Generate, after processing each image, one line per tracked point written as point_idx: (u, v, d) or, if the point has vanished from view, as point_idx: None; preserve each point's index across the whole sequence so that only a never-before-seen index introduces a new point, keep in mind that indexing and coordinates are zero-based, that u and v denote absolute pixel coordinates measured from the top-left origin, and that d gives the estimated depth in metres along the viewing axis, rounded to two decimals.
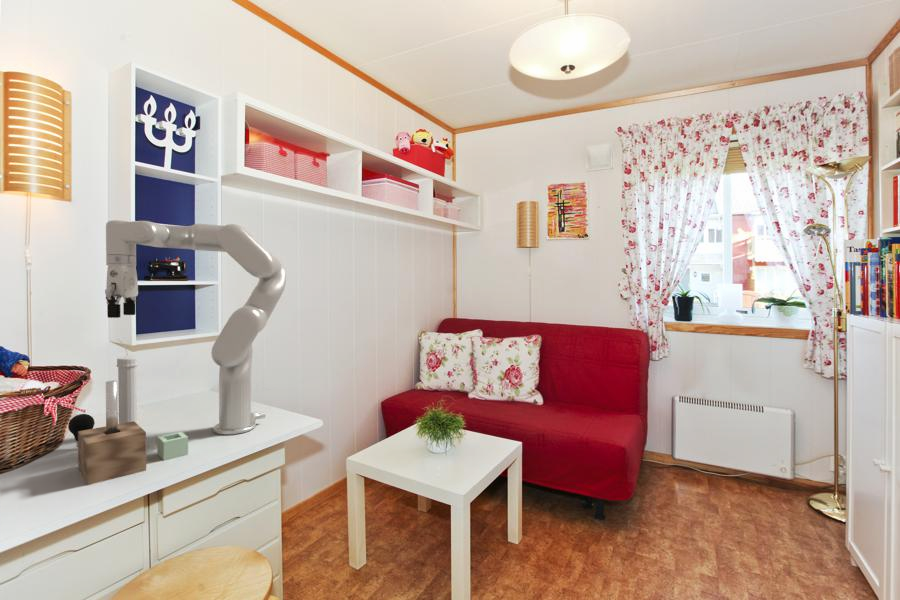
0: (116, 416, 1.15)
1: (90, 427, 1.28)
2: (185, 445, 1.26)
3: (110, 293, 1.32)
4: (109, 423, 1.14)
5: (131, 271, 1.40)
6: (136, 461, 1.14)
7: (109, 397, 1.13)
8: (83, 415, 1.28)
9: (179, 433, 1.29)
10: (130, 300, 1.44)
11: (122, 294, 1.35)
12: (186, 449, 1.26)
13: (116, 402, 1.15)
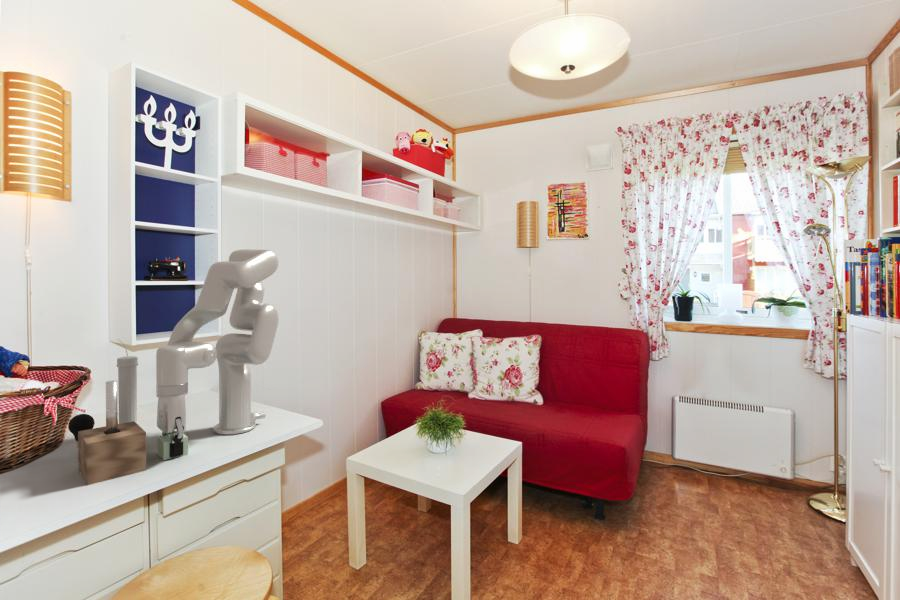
0: (116, 416, 1.15)
1: (90, 427, 1.28)
2: (185, 445, 1.26)
3: None
4: (109, 423, 1.14)
5: (161, 402, 1.24)
6: (136, 461, 1.14)
7: (109, 397, 1.13)
8: (83, 415, 1.28)
9: None
10: None
11: None
12: (186, 449, 1.26)
13: (116, 402, 1.15)
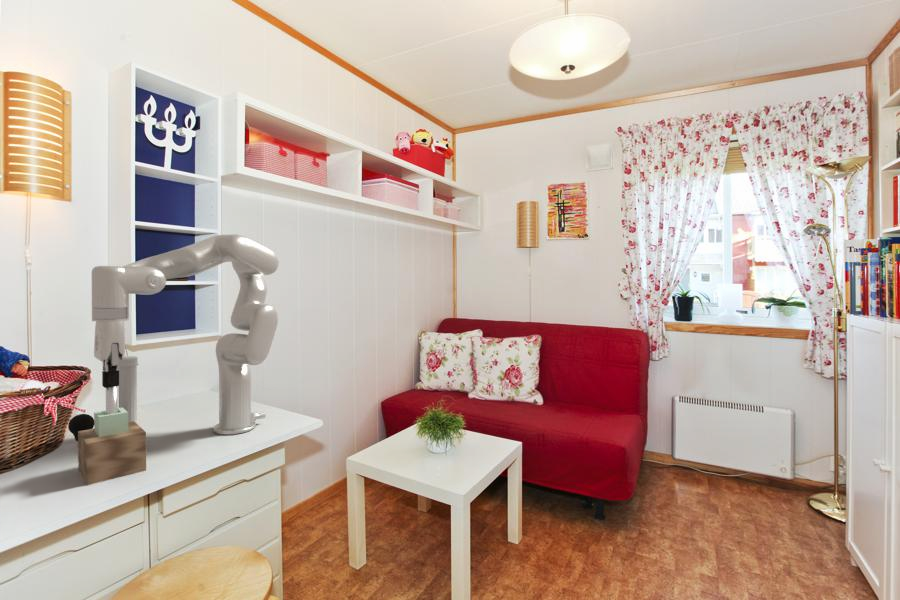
0: None
1: (90, 427, 1.28)
2: (125, 421, 1.15)
3: None
4: None
5: (96, 327, 1.12)
6: (136, 461, 1.14)
7: (109, 402, 1.14)
8: (83, 415, 1.28)
9: (119, 409, 1.18)
10: None
11: None
12: (126, 426, 1.15)
13: (116, 407, 1.15)
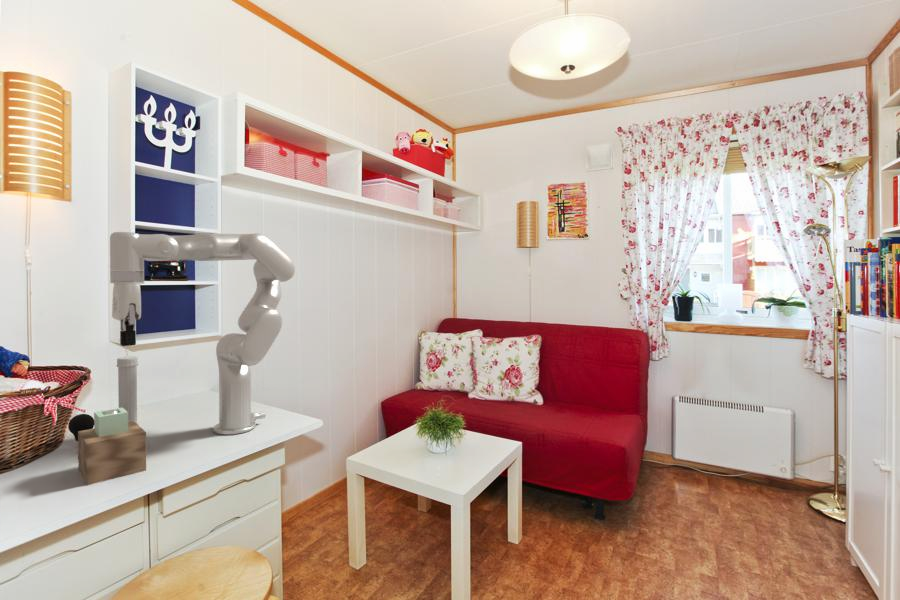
0: None
1: (90, 427, 1.28)
2: (125, 421, 1.15)
3: None
4: None
5: (115, 289, 1.20)
6: (136, 461, 1.14)
7: None
8: (83, 415, 1.28)
9: (119, 409, 1.18)
10: None
11: None
12: (126, 426, 1.15)
13: None
